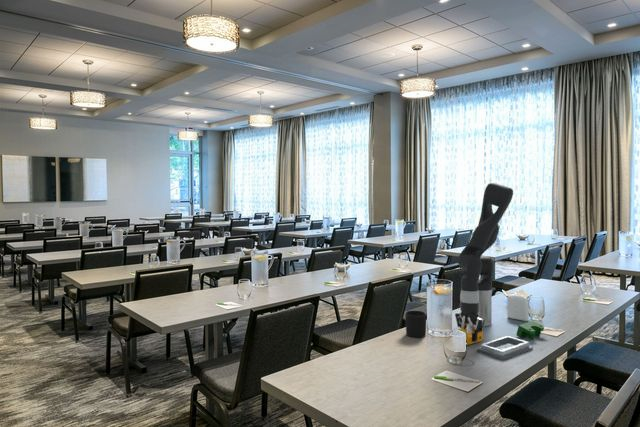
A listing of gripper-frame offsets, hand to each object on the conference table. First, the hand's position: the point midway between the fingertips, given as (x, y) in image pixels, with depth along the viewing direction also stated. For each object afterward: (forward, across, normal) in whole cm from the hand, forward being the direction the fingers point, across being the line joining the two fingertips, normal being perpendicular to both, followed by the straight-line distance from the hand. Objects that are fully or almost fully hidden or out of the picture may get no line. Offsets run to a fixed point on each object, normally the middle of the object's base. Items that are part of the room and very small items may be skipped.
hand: (469, 339), depth 196 cm
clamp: (+2, +11, +28) cm, 30 cm away
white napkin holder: (+2, -9, +49) cm, 50 cm away
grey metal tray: (+2, +14, +4) cm, 15 cm away
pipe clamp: (+1, 0, 0) cm, 1 cm away
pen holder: (+2, -22, -10) cm, 24 cm away
